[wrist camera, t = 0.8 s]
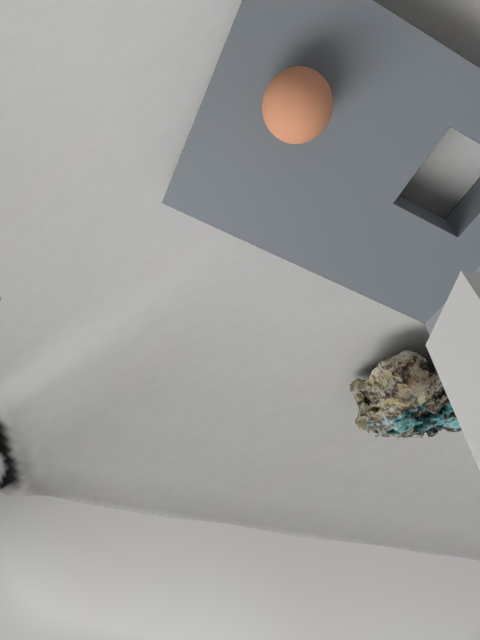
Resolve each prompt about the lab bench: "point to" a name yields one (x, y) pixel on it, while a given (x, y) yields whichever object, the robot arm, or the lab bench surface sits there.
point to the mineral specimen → (403, 399)
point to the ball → (297, 105)
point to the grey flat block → (338, 151)
